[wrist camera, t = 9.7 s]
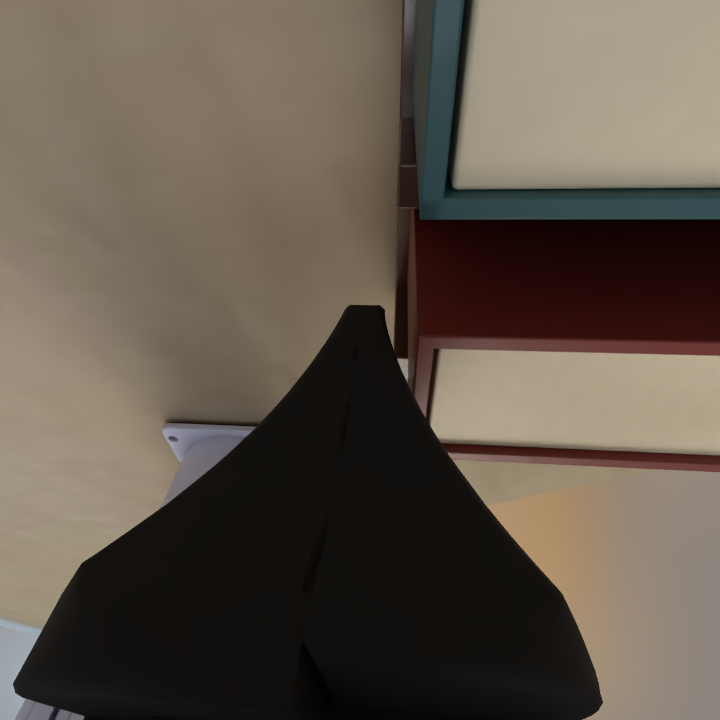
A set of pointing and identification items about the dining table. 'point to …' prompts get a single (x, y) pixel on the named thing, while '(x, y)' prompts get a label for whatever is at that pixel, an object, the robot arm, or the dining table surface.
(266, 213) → the dining table surface
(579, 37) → the teal book
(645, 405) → the oxblood book
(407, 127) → the book rack
